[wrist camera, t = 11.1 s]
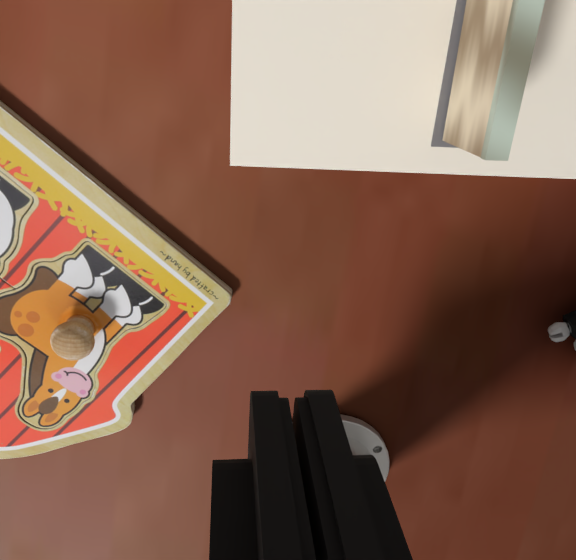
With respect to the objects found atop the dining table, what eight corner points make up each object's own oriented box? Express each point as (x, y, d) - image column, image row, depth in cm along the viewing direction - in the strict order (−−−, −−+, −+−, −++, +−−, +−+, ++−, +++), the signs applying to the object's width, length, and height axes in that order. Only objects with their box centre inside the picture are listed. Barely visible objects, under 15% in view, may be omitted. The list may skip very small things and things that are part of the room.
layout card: (623, 179, 38) (628, 181, 38) (230, 164, 35) (229, 165, 34) (737, -151, 30) (745, -154, 30) (235, -218, 26) (235, -223, 26)
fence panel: (476, -67, 30) (538, -95, 24) (498, -65, 30) (566, -92, 24) (441, 140, 35) (485, 160, 29) (460, 140, 35) (507, 160, 29)
